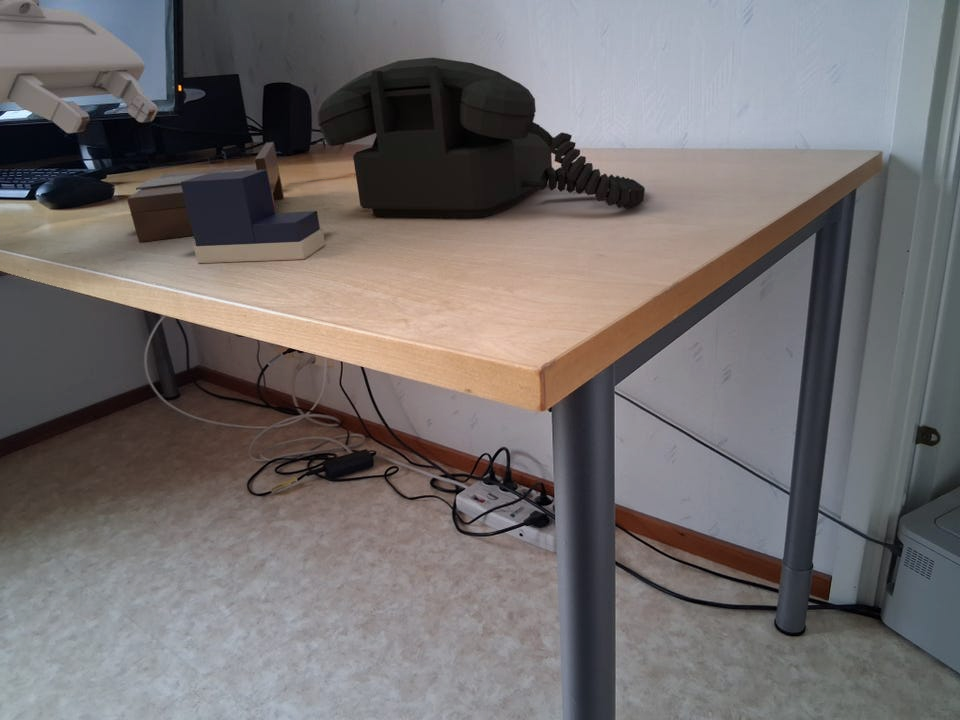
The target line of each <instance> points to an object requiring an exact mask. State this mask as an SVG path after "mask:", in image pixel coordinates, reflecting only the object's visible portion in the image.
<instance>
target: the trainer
mask: <svg viewBox="0 0 960 720" xmlns="http://www.w3.org/2000/svg"><path fill="white" fill-rule="evenodd" d="M181 186H182V190H183V194H184V199H185V203H186V207H187V211H188V215H189V219H190V223H191V227H192V231H193V235H194V236H193V240H194V244H195V245H194V246H193V251H194V254H195V258H196V263H197V264H214V263H215V264H216V263H218V264H219V263H240V262H266V261H267V262H268V261H269V262H270V261H290V260H291V261H292V260H294V261H295V260H296V261H297V260H305V259H307V258H309V257H310V256H311V255H312V254H314V253H316V252H317V251H318V250H320V249H321V248H322V247H324V246H325V245H326V241H325V233H324V229H323V228H320V222H319V221H320V220H319V215H318V211H317V210H307V211H288V212H287V211H286V212H276V213H275V209H276V208H275V209H274V203H275V202H274V203H273V198H272V193H271V188H270V183H269V178H268V173H267V170H251V171H236V172H220V173H209V174H205V175H202V176H199V177H195V178H192V179H189V180H186V181H182V182H181Z"/></svg>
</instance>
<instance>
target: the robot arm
mask: <svg viewBox="0 0 960 720" xmlns="http://www.w3.org/2000/svg"><path fill="white" fill-rule="evenodd" d="M145 68H146V66H145V62H144V61H143V58H142V57H141V56H140V55H139V54H138V53H137V52H136V51H135V50H134V49H133V48H131V47H129V46H128V44H126V43H125V42H123V41H122V40H120V39H119V38H118V37H117V36H116V35H114V34H113V33H112V32H111V31H109V30H107V29H106V28H104V26H102V25H100V24H99V23H97V22H96V21H95V20H93V19H92V18H90V17H88V16H87V15H85V14H82V13H80V12H78V11H75V10H70V9H60V8H59V9H57V8H46V7H40V0H0V104H7V103H15V104H16V105H17V106H18V107H19V108H21V109H23V110H25V111H28V112H30V113H32V114H34V115H37V116H38V117H41V118H43V119H46V120H48V121H51V122H53V124H55V125H56V126H57V127H59V129H61V130H62V131H64V132H65V133H66V134H74V133H75V134H76V133H80V132H84V131H85V130H86V129H87V125H88V124H89V123H90V120H91V117H90V115H89V113H88V112H87V111H85V110H84V109H82V108H81V106H80V105H78V104H77V103H76V102H75V101H73V100H71V101H66V100H64V99H68V98H79V97H91V96H92V97H93V96H102V95H103V96H104V95H112V96H113V97H114V98H115V99H117V100H120V99H121V100H122V101H123V102H124V104H125V105H126V107H127V109H126V110H125V112H126V113H127V114H128V115H129V116H130V117H132V118H134V119H135V120H136V121H137V122H138V123H149V122H153V121H154V119H155V117H156V116H157V114H158V113H159V108H158V106H157V104H155V102H153V100H151V99H150V98H148V96H146V95H145V93H144V91H143V89H142V87H141V85H140V84H139V80H140V79H141V77H142V75H143V73H144V70H145Z"/></svg>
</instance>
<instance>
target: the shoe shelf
mask: <svg viewBox="0 0 960 720" xmlns="http://www.w3.org/2000/svg"><path fill="white" fill-rule="evenodd" d="M251 170H267V173H268V178H269V183H270V188H271V193H272V198H273V203H274V209H275V213H277V208H276V205H275V201H276V200H284V197H285V195H284V189H283V185H282V178H281V174H280V168H279V163H278V157H277V152H276V147H275V142H274V141H270V142H269V141H268V142H265V143H264V145H263V147H262V148H261V149H260V150H259V152H258V154H257V155H256V156H255V158H254V164H246V165H237V166H227V167H218V168H208V169H200V170H190V171H189V170H188V171H179V172H172V173H171V172H170V173H164V174H162V175H161V176H159V177H157V178H150V179H148V180H146V181H145V182H143V183H141V184H139V185H138V186H137V187H136V186H135V190H138V191H136V192H135V193H133V194H132V195H130V196H129V197H127V198H126V200H127V204H128V207H129V211H130V215H131V219H132V223H133V226H134V230H135V233H136V237H137V241H138V243H145V242H153V241H161V240H168V239H169V240H171V239H178V238H185V237H194V235H193V231H192V227H191V223H190V219H189V215H188V211H187V207H186V203H185V199H184V194H183V190H182V186H181V182H182V181H186V180H189V179H192V178H195V177H199V176H202V175H205V174H209V173H220V172H236V171H251Z"/></svg>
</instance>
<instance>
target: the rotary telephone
mask: <svg viewBox="0 0 960 720" xmlns="http://www.w3.org/2000/svg"><path fill="white" fill-rule="evenodd" d="M536 112H537V110H536V98H535V97H534V95H533V94H532V93H531V91H530V90H529V89H528V88H527V87H526V86H524V85H523V84H521V83H520V82H519V81H516V80H513V79H512V78H510V77H508V76H507V75H504V74H503V73H502V72H500V71H496V70H494V69H491V68H489V67H485V66H482V65H479V64H476V63H474V62H467V61H460V60H453V59H448V58H447V59H446V58H441V57H434V56H433V57H421V58H414V59H402V60H397V61H394V62H391V63H388V64H386V65H385V64H384V65H383V66H382V65H381V66H380V67H377V68H374V69H371V70H368V71H365V72H364V73H362V74H360V75H358V76H357V77H355V78H354V79H351V80H350V81H348V82H346V83H345V84H344V85H342V86H341V87H339V89H337V90H336V91H335V92H333V93H332V94H330V95H329V96H328V97H326V98H325V100H324V101H323V102H322V103H321V105H320V108H319V110H318V112H317V123H318V127H319V131H320V132H321V134H322V136H323V138H324V140H325V142H326V144H327V145H328V146H330V147H336V146H341V145H345V144H349V143H353V142H355V141H358V140H361V139H365V138H367V137H369V136H372V135H375V138H374V140H373V144H372V145H371V147H368V148H365V149H362V150H359V151H356V152H355V153H354V154H353V156H352V158H353V159H352V160H353V165H354V171H355V178H356V186H357V191H358V192H357V193H358V198H359V205H360V207H361V208H362V209H366V210H372V216H374V217H379V218H381V217H384V218H385V217H387V218H390V217H391V218H451V219H452V218H453V219H454V218H456V219H459V218H461V219H474V218H475V219H476V218H484V217H488V216H491V215H495V214H497V213H500V212H503V211H505V210H508V209H510V208H511V207H513V206H514V205H515V204H518V203H519V202H520V201H522V200H523V199H525V198H527V197H528V196H530V195H531V194H533V193H534V192H536V191H538V189H541V190H544V189H546V188H548V189H549V190H550V191H553V190H555V189H557V190H558V192H563V191H567V192H568V193H569V194H570V193H571V194H572V193H573V192H574V191H575V192H576V193H577V194H578V195H580V194H582V193H585V194H586V195H587V196H595V199H596V200H597V202H602V201H603V202H604V201H605V202H606V204H607V205H608V207H610V206H611V207H612V206H614V205H616V207H617V208H618V209H620V208H622V207H623V208H624V209H631V208H633V207H635V206H637V205H640V204H642V203H643V202H644V199H645V191H646V188H645V187H644V186H643V185H642V184H641V183H639V182H638V181H636V180H635V179H633V178H629V177H627V178H626V177H625V176H619V175H618V174H617V175H616V176H614V175H613V174H609V176H608V174H607V173H603V174H601V171H600V169H599V168H598V169H597V168H596V169H594V167H593V162H587V157H586V156H582V155H581V149H579V148H576V141H572V137H573V135H572V134H569V133H567V132H560V133H558V134H557V135H555V136H553V135H552V134H551V133H549V131H547V130H546V129H545V128H543V127H542V126H541V125H540V124H538V123H536V122H534V119H535V116H536V114H535V113H536ZM552 154H553V155H554V162H556V163H558V164H560V167H557V168H556V169H555V168H554V167H553V159H552V158H553V157H552V156H553V155H552Z"/></svg>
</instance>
